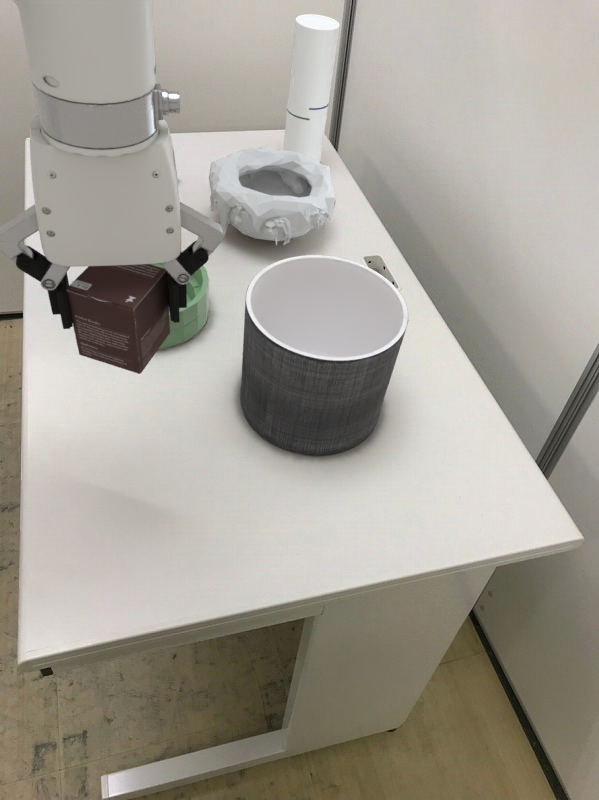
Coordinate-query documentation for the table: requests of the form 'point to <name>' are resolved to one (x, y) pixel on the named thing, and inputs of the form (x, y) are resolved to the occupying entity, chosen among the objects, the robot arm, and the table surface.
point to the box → (120, 313)
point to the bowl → (271, 193)
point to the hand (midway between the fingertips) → (121, 314)
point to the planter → (319, 352)
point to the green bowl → (190, 309)
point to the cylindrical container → (310, 84)
